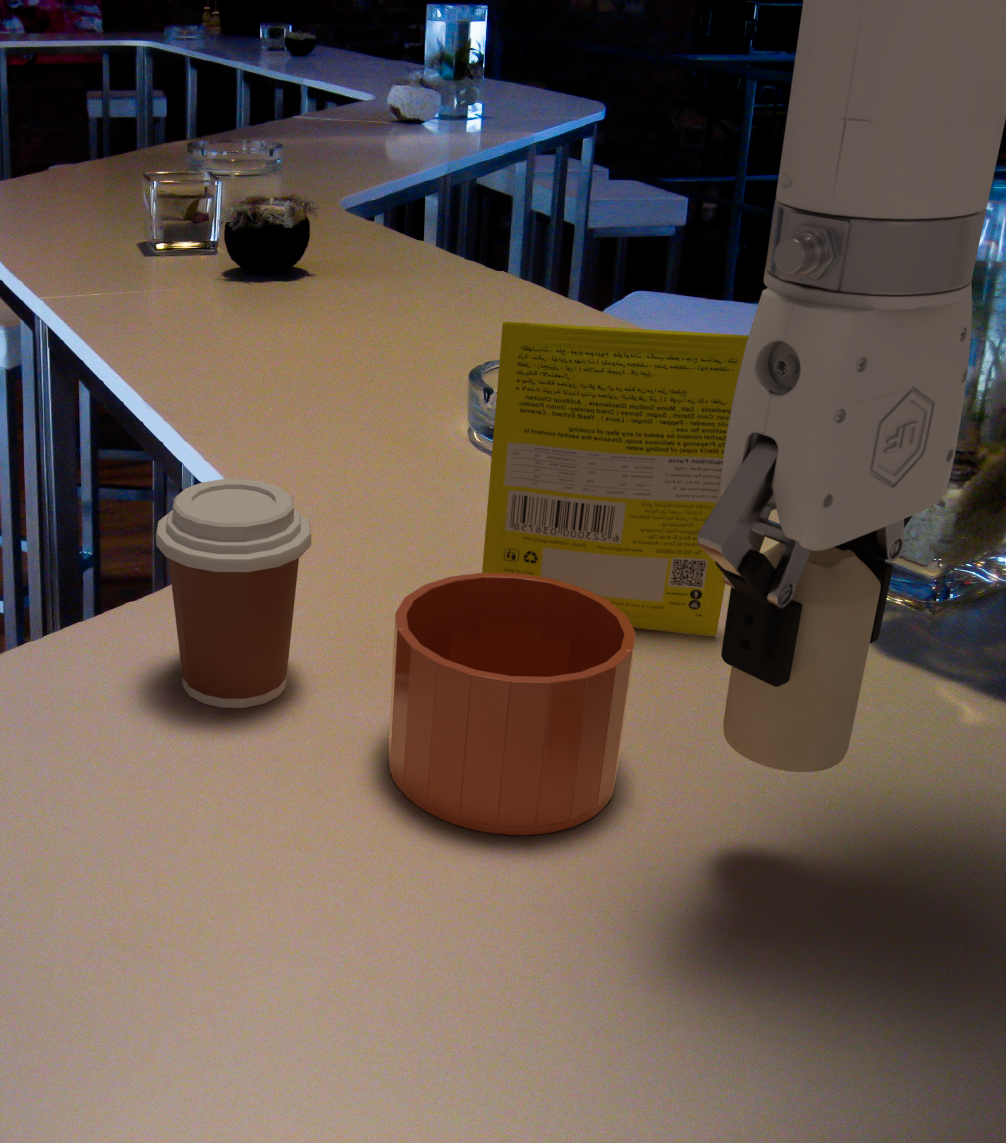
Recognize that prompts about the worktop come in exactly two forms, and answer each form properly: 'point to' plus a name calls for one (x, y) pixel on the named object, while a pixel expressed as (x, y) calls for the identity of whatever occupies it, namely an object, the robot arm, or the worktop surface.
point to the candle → (810, 671)
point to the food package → (613, 465)
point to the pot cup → (508, 701)
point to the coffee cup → (234, 587)
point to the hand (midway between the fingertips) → (800, 648)
